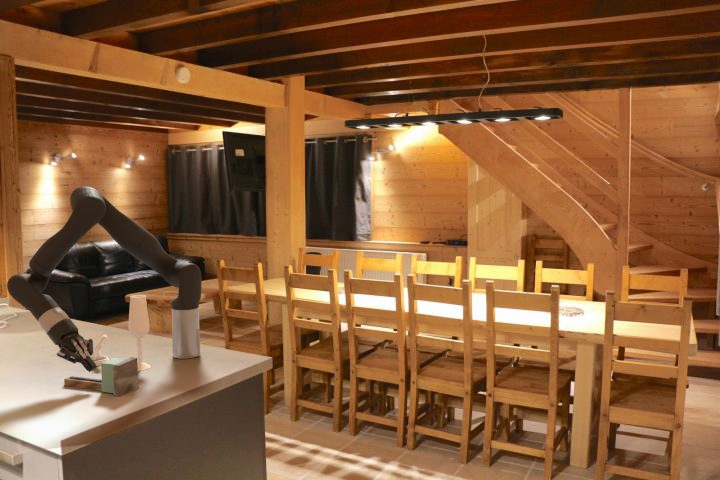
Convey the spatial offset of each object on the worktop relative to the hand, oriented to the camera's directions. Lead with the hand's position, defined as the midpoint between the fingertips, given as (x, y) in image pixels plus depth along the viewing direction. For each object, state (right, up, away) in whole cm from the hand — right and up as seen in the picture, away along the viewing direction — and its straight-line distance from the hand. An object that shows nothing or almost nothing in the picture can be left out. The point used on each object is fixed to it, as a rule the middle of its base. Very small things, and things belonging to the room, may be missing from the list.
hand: (93, 369), depth 173 cm
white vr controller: (-10, -4, +25) cm, 28 cm away
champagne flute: (+6, -4, +20) cm, 22 cm away
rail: (+1, -6, +1) cm, 6 cm away
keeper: (+7, -6, -1) cm, 10 cm away
